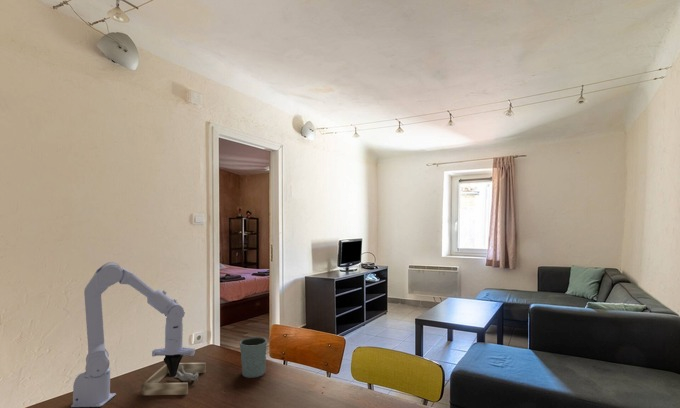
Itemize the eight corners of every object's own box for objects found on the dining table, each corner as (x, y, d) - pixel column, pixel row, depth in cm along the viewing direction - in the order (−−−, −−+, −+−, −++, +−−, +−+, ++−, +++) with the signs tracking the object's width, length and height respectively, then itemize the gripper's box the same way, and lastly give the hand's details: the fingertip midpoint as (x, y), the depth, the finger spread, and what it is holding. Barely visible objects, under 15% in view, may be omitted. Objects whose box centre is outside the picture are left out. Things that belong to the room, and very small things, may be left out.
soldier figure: (182, 376, 137) (207, 370, 133) (177, 389, 133) (203, 383, 129) (168, 367, 132) (193, 360, 129) (162, 380, 129) (188, 374, 125)
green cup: (260, 379, 131) (260, 346, 132) (234, 377, 133) (234, 344, 134) (270, 368, 141) (270, 337, 142) (246, 366, 143) (247, 335, 144)
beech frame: (141, 395, 120) (141, 384, 120) (166, 372, 138) (166, 363, 138) (186, 394, 120) (186, 383, 120) (205, 371, 138) (205, 362, 138)
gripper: (198, 333, 134) (197, 370, 133) (158, 334, 134) (158, 371, 133) (190, 339, 127) (190, 379, 126) (149, 340, 126) (148, 379, 126)
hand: (173, 375), depth 129 cm, fingers closed
